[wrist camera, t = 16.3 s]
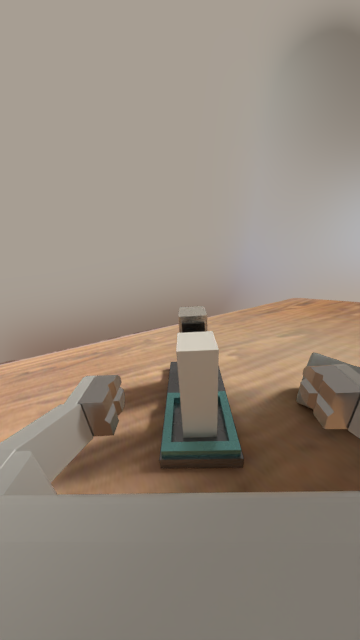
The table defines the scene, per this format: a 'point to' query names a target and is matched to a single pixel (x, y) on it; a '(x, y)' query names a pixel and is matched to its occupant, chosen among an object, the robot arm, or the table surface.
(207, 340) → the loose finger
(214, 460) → the tray with white post
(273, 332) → the table surface
